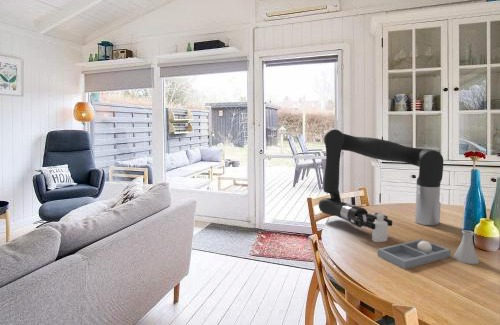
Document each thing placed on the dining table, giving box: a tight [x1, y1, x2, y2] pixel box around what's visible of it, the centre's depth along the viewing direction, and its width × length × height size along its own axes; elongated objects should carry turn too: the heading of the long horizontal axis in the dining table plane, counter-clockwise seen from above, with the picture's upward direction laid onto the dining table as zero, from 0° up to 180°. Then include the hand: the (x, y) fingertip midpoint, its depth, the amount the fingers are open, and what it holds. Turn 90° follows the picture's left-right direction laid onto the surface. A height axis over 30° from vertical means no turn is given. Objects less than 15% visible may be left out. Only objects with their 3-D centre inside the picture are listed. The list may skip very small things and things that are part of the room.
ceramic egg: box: [417, 240, 432, 254], centre depth 106 cm, size 4×4×4 cm
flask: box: [453, 229, 480, 265], centre depth 101 cm, size 7×7×10 cm
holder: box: [377, 238, 452, 270], centre depth 105 cm, size 21×11×3 cm, turn 112°
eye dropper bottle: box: [371, 210, 389, 243], centre depth 119 cm, size 4×6×12 cm
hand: (383, 225), depth 118 cm, fingers open, 8 cm apart
